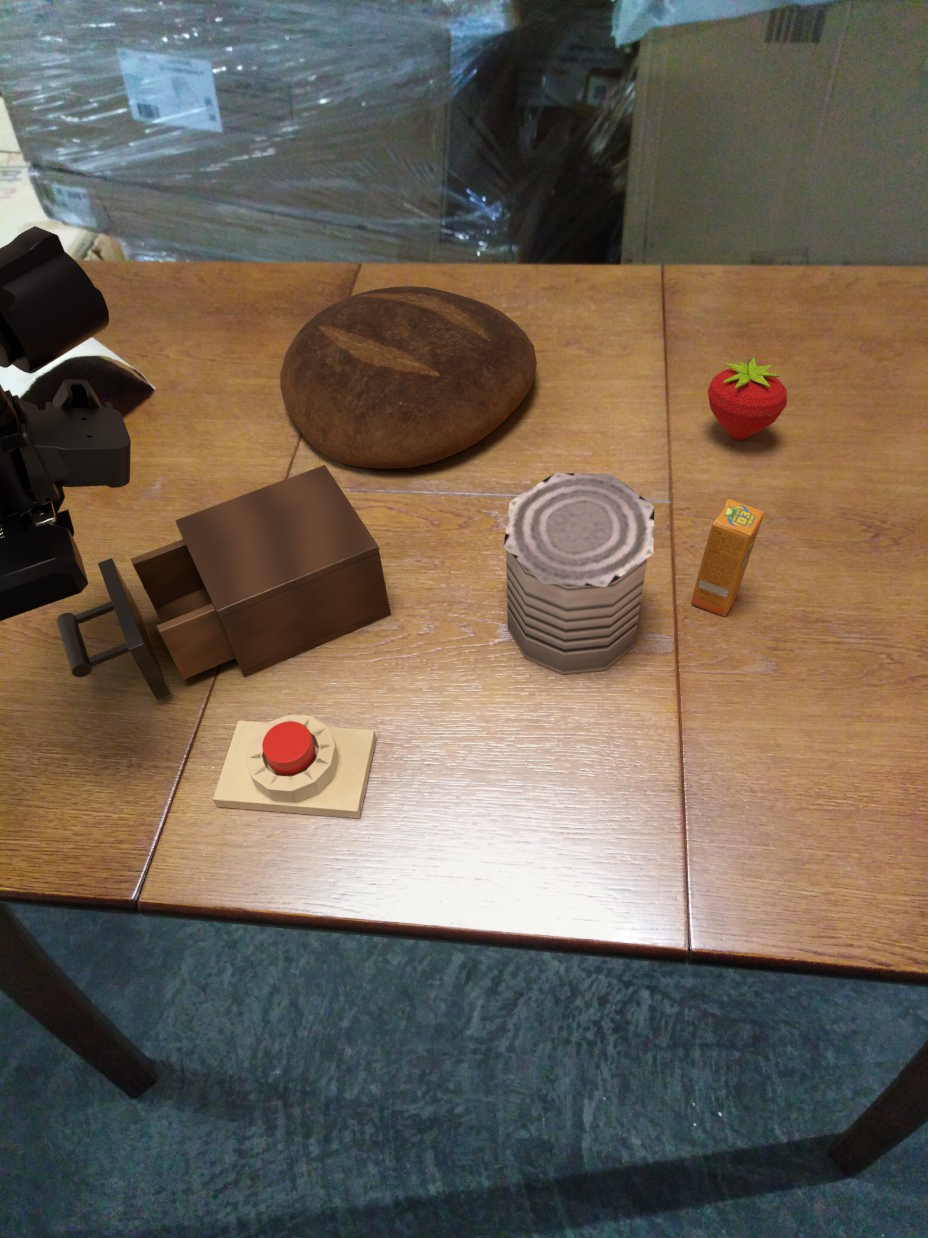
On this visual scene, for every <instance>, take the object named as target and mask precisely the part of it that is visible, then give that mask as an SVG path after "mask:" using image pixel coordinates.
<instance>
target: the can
mask: <svg viewBox="0 0 928 1238" xmlns="http://www.w3.org/2000/svg"><path fill="white" fill-rule="evenodd" d="M506 519H507V521H506V526H505V531H504V540H503V548H504V550H505V554H506V555H505V564H506V565H505V567H506V568H505V569H506V602H507V603H506V605H507V607H506V608H507V611H506V612H507V631H508V632H509V634H510V635H511V637H512V639H513V640H514V642H515V643H516V646H517V647H518V648H519V650H520V652H521V653H522V655H523V657H524V659H525V660H528V661H530V662H532V663H534V664H537V665H539V666H542V667H544V668H546V669H549V670H550V671H553V672H556V673H558V674H560V675H562V676H565V675H574V674H585V673H593V672H594V673H595V672H603V671H607V670H608V669H609V668H610V667H611V666H613V665H614V664H615V663H616V662H618V661H619V660H620V659H621V658H622V657H624V656H625V655H626V654H627V653H629V652H630V651H631V650H633V649H634V648H635V641H636V636H637V628H638V623H639V622H638V621H639V615H640V610H641V604H642V597H643V590H644V583H645V578H646V577H645V576H646V571H647V564H648V558H650V557H651V556H653V555H654V545H655V542H654V541H655V506H654V505H653V504H651V503H650V502H649V501H648V500H646V499H645V498H644V497H643V496H641V494H639V493H637V492H636V491H635V490H634V489H632V488H631V487H630V486H628V484H626V483H625V482H623V481H622V479H620V478H618V477H617V476H616V475H615V474H607V473H605V474H604V473H577V472H575V473H573V472H553V473H552V474H551V475H549V476H548V477H545V478H544V479H543V480H541V481H540V482H538V483H537V484H535V485H534V486H532V487H531V488H529V489H527V490H526V491H524V492H523V493H521V494H519V495H518V496H516V497H515V498H513V499H512V500H510V501H509V506H508V513H507V517H506Z"/></svg>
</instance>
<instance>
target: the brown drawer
mask: <svg viewBox="0 0 928 1238" xmlns="http://www.w3.org/2000/svg"><path fill="white" fill-rule="evenodd" d="M130 562H131V564H132V566H133V568H134V571H135V573H136V574H137V577H138V579H139V581H140V582H141V584H142V587H143V589H144V590H145V593H146V595H147V596H148V598H149V600H150V602H151V605H152V607H153V609H154V612H155V614H156V617H157V619H158V621H159V623H160V624H157V625H156V629H157V631H158V633H159V635H160V637H161V640H162V641H163V643H164V645H165V646H166V649H167V651H168V653H169V654H170V655H169V656H170V657H171V659H172V660H173V663H174V664H175V666H176V668H177V671H178V673H179V674H180V677H181V679H182V680H183V681H184V680H186V679H189V678H191V677H193V676H196V675H199V674H201V673H203V672H205V671H208V670H210V669H213V668H215V667H217V666H220V665H222V664H224V663H227V662H229V661H231V660H234V659H235V655H234V653H233V651H232V648H231V646H230V643H229V641H228V639H227V636H226V634H225V631H224V629H223V627H222V624H221V622H220V619H219V617H218V615H217V612H216V610H215V608H214V605H213V603H212V601H211V599H210V597H209V594H208V592H207V590H206V588H205V586H204V584H203V581H202V579H201V577H200V575H199V573H198V570H197V568H196V566H195V564H194V562H193V559H192V557H191V555H190V553H189V551H188V548H187V546H186V544H185V542H184V540H183V538H182V539H179V540H175V541H174V542H171V543H169V544H165V545H163V546H161V547H158V548H155V549H152V550H150V551H147V552H145V553H142V554H139V555H137V556H134V557H131V558H130ZM97 565H98V569H99V571H100V574H101V577H102V580H103V582H104V586H105V589H106V590H107V593H108V597H109V600H110V601H108V602H106V603H103V604H101V605H98V606H95V607H93V608H90V609H88V610H85V611H83V612H80V613H77V614H74V613H72V612H63V613H61V614H59V615H58V616H57V618H56V623H57V627H58V632H59V634H60V638H61V641H62V644H63V647H64V648H63V649H64V651H65V654H66V658H67V661H68V664H69V665H68V666H69V668H70V672H71V674H72V676H74V677H75V678H84V677H87V676H89V675H90V674H91V673H92V672H93V667H96V666H98V665H101V664H103V663H106V662H108V661H111V660H113V659H116V658H119V657H121V656H123V655H126V654H128V653H130V655H131V657H132V659H133V661H134V662H135V664H136V665H137V668H138V669H139V671H140V673H141V675H142V677H143V679H144V680H145V681H146V683H147V685H148V688H149V689H150V691H151V693H152V694H153V696H154V698H155V699H156V701H160V700H162V699H164V698H167V697H169V696H171V695H172V693H171V690H170V687H169V685H168V682H167V680H166V677H165V675H164V672H163V670H162V666H161V664H160V662H159V659H158V656H157V653H156V651H155V649H154V645H153V643H152V640H151V637H150V634H149V632H148V630H147V627H146V624H145V622H144V619H143V616H142V614H141V611H140V609H139V607H138V605H137V603H136V601H135V600H134V597H133V595H132V594H131V592H130V590H129V588H128V586H127V583H126V582H125V580H124V578H123V577H122V574H121V571H120V570H119V569H118V567H117V564H116V563H115V561H114V559H113V558H112V557H111V558H108V559H105V560H102V561H100V562H97ZM112 612H114V613H115V616H116V619H117V621H118V625H119V627H120V631H121V633H122V636H123V639H124V641H125V642H123V643H121V644H120V645H119V644H118V645H116V646H114V647H111V648H110V649H107V650H104V651H101V652H99V653H96V654H95V655H92V656H89V652H88V651H87V647H86V643H85V640H84V637H83V635H82V631H81V628H80V625H81V624H84V623H86V622H89V621H92V620H94V619H97V618H99V617H102V616H104V615H107V614H108V613H112Z"/></svg>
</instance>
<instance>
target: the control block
mask: <svg viewBox="0 0 928 1238" xmlns="http://www.w3.org/2000/svg"><path fill="white" fill-rule="evenodd" d="M287 721H294V722H298V723H301V724H303V725H304V726H306V727H307V728H308V730H309V731H310V734H311V736H312V739H313V742H314V745H315V756H314V758H313V760H312V762H311V764H310V765H309V766H308V767H307V768H306V769H304V770H303V771H301V772H299V773H296V774H291V775H285V774H280V773H278V772H276V771H274V770H273V769H272V768H271V767H270V766H269V764H268V761H267V759H266V757H265V754H264V752H263V748H262V743H263V739H264V737H265V735H266V734H267V732H268V731H269V730H270V729H271V728H272V727H274V726H275V725H277V724H279V723H282V722H287ZM376 741H377V734H376V731H375V729H366V728H353V727H339V726H328V725H327V724H325V723H323V722H322V721H321V720H319V719H317V718H316V717H314V716H313V715H307V714H306V715H303V714H292V713H291V714H287V715H284V716H281V717H278V718H276V719H273V720H270V721H269V722H268V721H256V720H255V721H253V720H242V719H241V720H240V719H239V720H237V722H236V726H235V729H234V732H233V736H232V739H231V742H230V745H229V748H228V750H227V754H226V756H225V760H224V762H223V766H222V769H221V772H220V776H219V778H218V781H217V784H216V787H215V790H214V794H213V797H212V801H213V803H214V805H215V806H216V807H218V808H228V809H229V808H230V809H238V810H239V809H240V810H249V811H250V810H251V811H264V812H275V813H287V814H299V815H300V814H301V815H310V816H311V815H312V816H324V817H336V818H346V819H347V818H349V819H360V818H361V814H362V809H363V805H364V800H365V794H366V790H367V786H368V780H369V776H370V770H371V767H372V760H373V758H374V757H373V756H374V751H375V748H376Z"/></svg>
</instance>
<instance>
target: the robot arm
mask: <svg viewBox="0 0 928 1238" xmlns="http://www.w3.org/2000/svg"><path fill="white" fill-rule="evenodd" d="M109 313H110V311H109V308H108V305H107V302H106V299H105V297H104V295H103V292H102V291H101V290H100V289H99V288H98V287H95V284H94V283H93V281H92V280H91V278H90V277H89V276H88V273H86V271H85V270H84V269H83V268H82V267H81V265H80V264H79V263H78V262H77V261H76V260H75V259H74V258H73V257H72V256H71V255H70V254H69V253H68V252H66V251H65V248H64V247H63V244H62V241H61V239H60V237H59V235H58V234H55V233H53V232H51V231H49V230H46V229H44V228H41V227H38V226H36V225H34V226H32V227H30V228H28V229H26V230H24V231H22V232H21V233H19V234H18V235H17V236H15V237H14V239H13V240H12V241H10V242H9V243H7V244H5V245H3V246H2V247H0V367H1V368H5V369H8V368H9V367H11V366H14V367H15V368H16V369H18V370H19V371H22V372H23V373H26V374H30V375H31V374H35V373H36V372H38V371H40V370H41V369H43V368H45V367H47V366H48V365H50V364H51V363H53V362H55V361H56V360H57V359H59V358H60V357H63V356H64V355H66V354H67V353H68V352H69V353H70V351H72V350H74V349H75V348H77V347H78V346H80V345H82V344H83V343H85V342H86V341H89V340H90V339H91V338H93V337H95V336H96V335H98V334H99V333H102V331H104V330H106V329H107V327H108V326H109V324H110V314H109ZM131 445H132V440H131V437H130V434H129V431H128V428H127V426H126V423H125V420H124V417H123V415H122V413H121V412H120V411H118V410H117V409H115V408H114V407H113V405H112V401H104V406H103V405H102V404H101V402H100V399H99V397H98V396H97V394H96V392H95V391H94V389H93V388H92V386H91V384H90V383H89V382H88V380H87V379H64V380H63V381H62V383H61V385H60V386H59V388H58V390H57V392H56V394H55V395H54V397H53V399H52V401H46V402H45V409H43V410H39V409H38V406H37V405H36V404H34V403H33V402H30V401H26V400H24V399H21V398H20V396H19V395H18V394H15V395H13V393H12V392H11V390H10V389H8V390H4V388H3V386H2V385H1V383H0V622H3V621H5V620H9V619H11V618H14V617H16V616H19V615H22V614H25V613H28V612H31V611H34V610H37V609H39V608H41V607H45V606H48V605H50V604H54V603H56V602H60V601H62V600H65V599H67V598H71V597H73V596H76V595H78V594H79V595H80V594H81V593H82V592H83V591H84V590H85V589H86V587H88V585H89V579H88V577H87V573H86V569H85V566H84V561H83V558H82V555H81V553H80V550H79V548H78V546H77V543H76V541H75V539H74V536H75V529H74V524H73V521H72V517H71V513H70V510H69V509H65V510H61V511H60V509H61V507H62V505H63V504H64V501H65V500H66V494H65V490H64V488H82V487H83V488H84V487H85V488H87V487H104V486H105V487H108V488H110V489H115V488H123V487H125V486H127V485H129V484H130V481H131V451H132V450H131V449H132V447H131ZM63 487H64V488H63Z"/></svg>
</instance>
